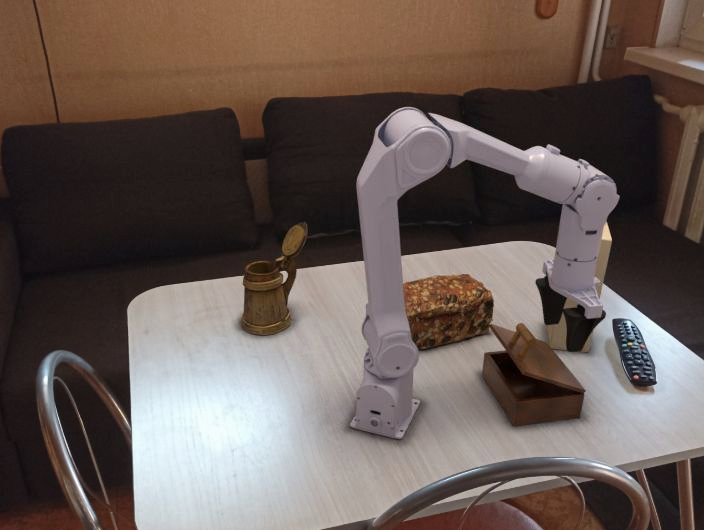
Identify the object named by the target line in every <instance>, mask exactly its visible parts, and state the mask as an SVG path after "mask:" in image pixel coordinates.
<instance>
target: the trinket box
mask: <svg viewBox="0 0 704 530" xmlns="http://www.w3.org/2000/svg"><path fill="white" fill-rule="evenodd" d="M482 361H483V362H482V371H481V376H482V378H483V379H484V380H485V382H486V384H487V385H488V387H489V388H490V390H491V392H492V393H493V395H494V397H495V399H496V400H497V402H498V403H499V405H500V407H501V408H502V410H503V411H504V413H505V415H506V416H507V418H508V420H509V421H510V422H511V425H512V426H513V427H517V426H526V425H533V424H540V423H548V422H555V421H563V420H572V419H579V418H581V414H582V411H583V404H584V400H585V393H580V392H577V391H574V390H571V389H567V388H564V387H561V386H558V385H555V384H551V383H548V382H545V381H542V380H538V379H535V378H532V377H529V376H526V375H523V374H522V372H521V371H520V370H519V368H518V367H517V365H516V364H515V363H514V361H513V360H512V358H511V357H510V355H509V354H508V353H507V351H506V350H505V349H504V350H497V351H496V350H495V351H487V352H484V353H483V360H482Z"/></svg>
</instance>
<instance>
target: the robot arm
mask: <svg viewBox="0 0 704 530" xmlns="http://www.w3.org/2000/svg"><path fill="white" fill-rule="evenodd" d="M427 114H428V115H429V117H430V118H431V120H430V119H429V118H428V117H427V115H426V114H425V113H424V112H423V111H422V110H420V109H418V108H417V107H412V106H405V107H404V106H403V107H400V108H398V109H396V110H394V111H392V112H391V113H390V114H389V115H388V116H387V117H386V118H385V119H384V120H383V121H382V122H381V123H379V125H378V126H377V127H376V128H375V130H374V135H373V141H372V144H371V147H370V149H369V150H368V153H367V155H366V157H365V159H364V162H363V163H362V164H363V165H362V166H361V168H360V171H359V173H358V175H357V178H356V185H355V187H356V195H357V196H356V197H357V206H358V217H359V226H360V234H361V236H360V237H361V244H362V254H363V264H364V266H363V267H364V274H365V285H366V293H367V303H365V316H364V319H363V321H362V323H361V328H360V329H361V330H360V331H361V335H362V338H363V339H364V341H365V342H366V345H367V348H366V351H365V353H364V357H363V377H362V381H361V383H360V385H359V387H358V389H357V391H356V394H355V396H356V397H355V409H356V410H355V415H354V417H353V419H352V420H351V422H350V424H349V426H350V428H352V429H356V430H359V431H364V432H367V433H372V434H374V435H375V434H376V435H379V436H384V437H388V438H393V439H396V440H402V439H404V437H405V434H406V432H407V430H408V428H409V427H410V425H411V422H412V420H413V418H414V417H415V415H416V412H417V411H418V408H419V407H420V405H421V400H419V399H416V398H413V392H414V391H413V390H414V369H415V368H416V367H417V365H418V363H419V360H420V351H419V349H417V347H416V345H415V344H414V342H413V341H412V339H411V333H410V327H409V323H408V319H407V315H406V311H405V304H404V290H403V284H404V278H403V264H402V250H401V236H400V223H399V210H398V209H399V208H398V200H399V199H400V198H401V197H402V196H403V195H404V194H405V193H406V192H407V191H409V190H411V189H413V188H414V187H416V186H418V185H420V184H421V183H423V182H425V181H427V180H429V179H431V178H433V177H434V176H436V175H437V174H439V173H440V172H441V171H442V170H443V169H444V168H445V167H446V165H447V166H448V167H449V169H454V168H456V167H457V166H458V165H461V163H463V162H464V161H466V160H467V161H470V162H473V163H477V164H479V165H483V166H486V167H488V168H491V169H495V170H496V171H500V172H503V173H506V174H509V175H512V176H513V177H514V179H515V183H516V185H517V187H518V188H519V189H520V190H523V191H526V192H528V193H531V194H534V195H536V196H539V197H541V198H544V199H546V200H549V201H551V202H554V203H557V204H560V205H562V207H561V214H560V218H559V219H560V220H559V225H558V232H557V238H556V245H555V252H554V256H553V257H554V258H553V259H547V260H543V264H542V270H541V271H542V273H543V274H544V275H545V276H544V277H540V278H539V277H538V278H536V279H535V281H534V282H535V286H536V288H537V290H538V293H539V297H540V301H541V308H542V309H541V310H542V317H543V318H542V319H543V323H544V325H545V326H547V325H554V324H559V322H560V320H561V317H562V313H563V314H564V317H565V320H566V327H567V335H566V348H567V350H566V352H568V353H575V352H579V351H582V349H583V347H584V345H585V343H586V341H587V339H588V338H589V336H590V334H591V333H592V331H593V332H594V330H595V329H596V327H597V326H598V325H599V324H600V323H601V322H602V321H604V320H605V319H606V318H607V317H606V316H607V312H606V310H604V309H603V308H604V304H603V303H602V302H601V300H599V298H598V295H597V291H596V288H595V287H596V286H599V285H600V280H598V279H597V278H596V277H595V271H596V265H597V260H598V255H599V250H600V244H601V239H602V234H603V228H604V225H606V222H607V220H608V217H609V215H610V214H611V212H612V211H613V210H614V209H615V208H616V206H617V205H618V203H619V200H620V198H621V197H620V195H619V194H618V193H617V192H618V191H617V185H616V183H615V181H614V180H613V178H611V177H610V176H609V175H607V174H605V173H604V172H603V171H601V170H599V169H598V168H596V167H595V166H593V165H591V164H590V163H589V162H588V161H586V160H585V159H581V158H578V160H574V159H572V158H570V157H568V156H565V155H563V154H560V153H561V150H560V149H559V148H558V147H557V146H554V145H553V144H552V145H551V144H547V145H546V147H543V146H541V145H536V146H532V147H530V148H527V149H526V150H522V149H520V148H518V147H515V146H514V145H511V144H509V143H507V142H504V141H502V140H500V139H498V138H496V137H494V136H492V135H489V134H487V133H485V132H483V131H480V130H478V129H475V128H474V127H472V126H469V125H467V124H465V123H462V122H460V121H458V120H455V119H451V118H448V117H446V116H444V115H443V116H442V115H440V114H438V113H437V114H436V113H432V112H427ZM567 298H569V299H570V300H572V301H574V302H576V303H578V305H577V308H576V307H574V308H565V309H564V305H565V302H566V300H567Z"/></svg>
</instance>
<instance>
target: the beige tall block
mask: <svg viewBox="0 0 704 530" xmlns="http://www.w3.org/2000/svg"><path fill="white" fill-rule="evenodd" d="M612 242H613V239H612V235H611V232H610V228H609V225H608V221H606V225H604V228H603V234H602V239H601V244H600V250H599V255H598V260H597V265H596V271H595V277H596V278H597V279H598V280H600V285H599V286H596V287H595V288H596V291H597V295H598V298H599V300H600V299H601V295H602V290H603V287H604V286H603V285H604V280H605V276H606V272H607V267H608V263H609V257H610V253H611V247H612V244H613V243H612ZM600 301H601V300H600ZM577 305H578V303H576V302H574V301H572V300H570V299H569V298H567V300H566V302H565V305H564V309H565V308H574V307H576V308H577ZM546 326H547V327H546V329H547V338H548V344H549V346H550V347H551V348H552V349H553V350H561V351H567V348H566V335H567V327H566V320H565V317H564V314H563V313H562V317H561V320H560V322H559V324H554V325H546ZM593 334H594V330H593V331H592V333H591V334H590V336H589V338H588V339H587V341H586V343H585V345H584V347H583V349H582V351H578V353H579V352H580V353H589V352H590V347H591V343H592V338H593Z"/></svg>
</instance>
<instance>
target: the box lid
mask: <svg viewBox="0 0 704 530" xmlns="http://www.w3.org/2000/svg"><path fill="white" fill-rule="evenodd" d="M489 327H490V328H489V330H490V331H492V333H493V334H494V336H495V337H496V339H497V340H498V342H499V343H500V344H501V346H502V347H503V349H504V350H506V351H507V353H508V354H509V355H510V357H511V358H512V360H513V361H514V363H515V364H516V365H517V367H518V368H519V370H520V371H521V372H522V374H523V375H526V376H529V377H532V378H535V379H538V380H542V381H545V382H548V383H551V384H555V385H558V386H561V387H564V388H567V389H571V390H574V391H577V392H580V393H584V394H585V393H586V392H587V389H586V388H585V387H584V386H583V385H582V383H581V382H580V381H579V380H578V378H577V377H576V376H575V375H574V374H573V372H571V370H570V369H569V368H568V366H567V365H566V363H564V362H563V360H562V359H561V358H560V357H559V356H558V354H557V353H556V352H555V351H554V349H552V348H551V347H550V346H549V342H547V341H544V340H541V339H538V338H536V337H535V335H534V334H533V333H532V331H530V329H529V328H528V327H527V326H526V325H525V323H523V322H519V323H517V324H516V325H515V330H516V331H515V330H511V329H508V328H505V327H502V326H499V325H496V324H493V323H490V326H489Z"/></svg>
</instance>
